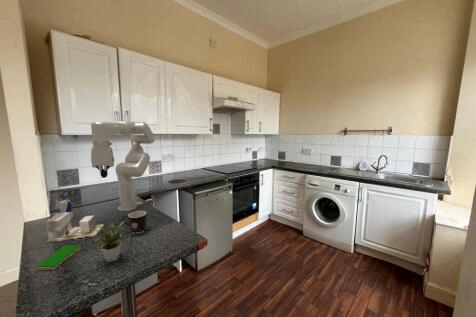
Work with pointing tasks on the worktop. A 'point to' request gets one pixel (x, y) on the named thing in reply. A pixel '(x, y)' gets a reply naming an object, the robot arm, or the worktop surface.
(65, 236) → the base
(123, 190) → the robot arm
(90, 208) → the worktop surface
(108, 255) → the house plant
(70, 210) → the energy drink
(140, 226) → the coffee mug
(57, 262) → the dish sponge
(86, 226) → the white rectangular block
